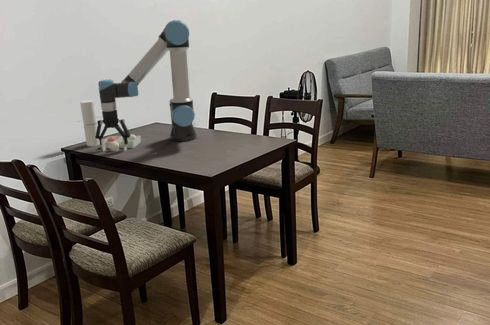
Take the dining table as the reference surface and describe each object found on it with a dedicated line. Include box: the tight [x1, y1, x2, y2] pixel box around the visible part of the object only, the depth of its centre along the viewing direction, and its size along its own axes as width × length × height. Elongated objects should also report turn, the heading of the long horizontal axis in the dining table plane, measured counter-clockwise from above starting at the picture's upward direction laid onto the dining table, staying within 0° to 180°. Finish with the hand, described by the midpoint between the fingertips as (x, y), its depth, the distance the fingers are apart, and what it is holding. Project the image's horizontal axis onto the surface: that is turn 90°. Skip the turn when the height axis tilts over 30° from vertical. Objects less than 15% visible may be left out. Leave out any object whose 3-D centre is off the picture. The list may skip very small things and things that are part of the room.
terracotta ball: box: [107, 135, 116, 142], centre depth 270 cm, size 5×5×5 cm
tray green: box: [119, 135, 142, 149], centre depth 269 cm, size 8×13×4 cm, turn 174°
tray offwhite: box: [100, 135, 124, 150], centre depth 270 cm, size 8×13×4 cm, turn 174°
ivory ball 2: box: [127, 133, 137, 142], centre depth 271 cm, size 5×5×5 cm
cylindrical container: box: [79, 99, 101, 147], centre depth 271 cm, size 7×7×25 cm
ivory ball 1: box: [109, 141, 120, 151], centre depth 259 cm, size 5×5×5 cm
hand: (114, 150), depth 260 cm, fingers open, 11 cm apart
